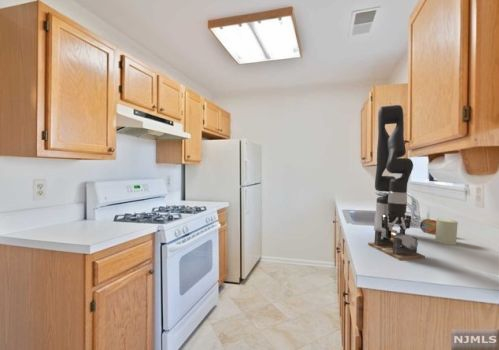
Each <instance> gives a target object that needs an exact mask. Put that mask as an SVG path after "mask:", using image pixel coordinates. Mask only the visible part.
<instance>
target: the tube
mask: <svg viewBox="0 0 499 350" xmlns="http://www.w3.org/2000/svg"><path fill="white" fill-rule="evenodd" d="M377 230H379V231H382V234H381V238H384V239H386V240H388V241H391V242H393V238H400V239H401V246H403V247H405V248H408V249H410V250H414V249H416V248H417V249H418V246H419V245H418V244H419V242H418V240H416V239H414V238H412V237H413V236H408V235H406V234H405V235H403V234H400V232H398V231H397V232H395V231H396V230H395V231H392V230H393V229H392V230H391V238H390V239H389V238H387V237H386V229H384V228H382V227H378V228H377Z"/></svg>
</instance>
